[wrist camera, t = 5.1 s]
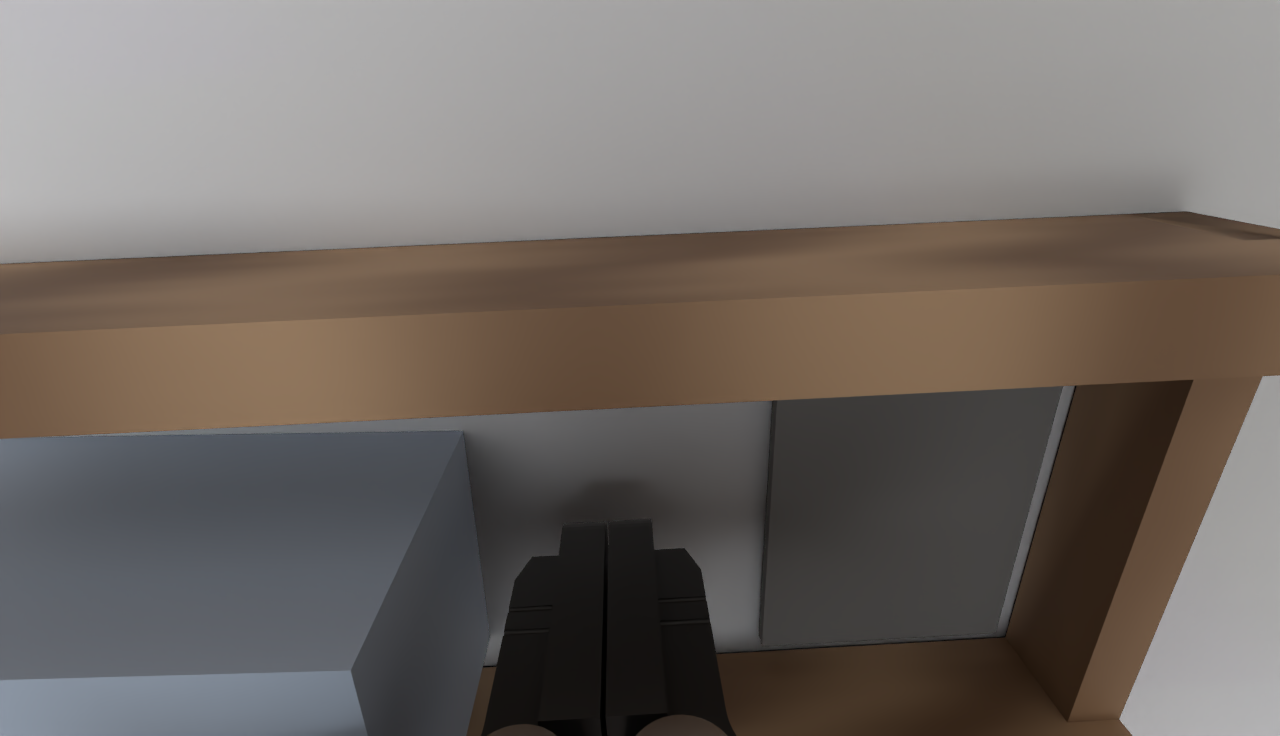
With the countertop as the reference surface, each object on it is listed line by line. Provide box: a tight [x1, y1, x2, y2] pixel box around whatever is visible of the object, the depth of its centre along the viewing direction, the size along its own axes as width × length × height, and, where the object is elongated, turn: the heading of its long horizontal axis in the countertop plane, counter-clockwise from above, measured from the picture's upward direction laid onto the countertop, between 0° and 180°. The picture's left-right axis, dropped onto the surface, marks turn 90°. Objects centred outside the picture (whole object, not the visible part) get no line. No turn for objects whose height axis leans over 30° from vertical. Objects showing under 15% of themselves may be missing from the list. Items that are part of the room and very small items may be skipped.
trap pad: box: [759, 386, 1063, 646], centre depth 12 cm, size 5×7×1 cm
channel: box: [0, 212, 1280, 736], centre depth 10 cm, size 19×10×4 cm, turn 92°
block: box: [0, 431, 490, 736], centre depth 9 cm, size 8×5×5 cm, turn 90°
